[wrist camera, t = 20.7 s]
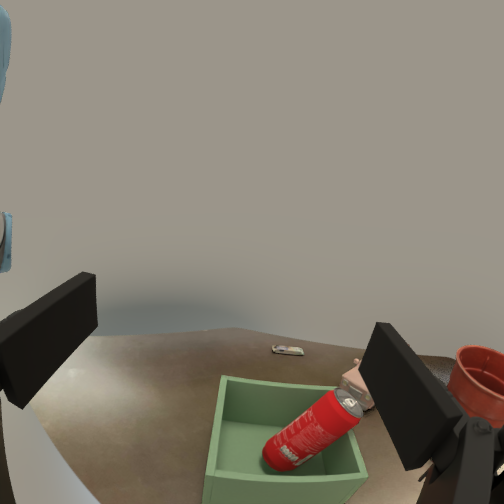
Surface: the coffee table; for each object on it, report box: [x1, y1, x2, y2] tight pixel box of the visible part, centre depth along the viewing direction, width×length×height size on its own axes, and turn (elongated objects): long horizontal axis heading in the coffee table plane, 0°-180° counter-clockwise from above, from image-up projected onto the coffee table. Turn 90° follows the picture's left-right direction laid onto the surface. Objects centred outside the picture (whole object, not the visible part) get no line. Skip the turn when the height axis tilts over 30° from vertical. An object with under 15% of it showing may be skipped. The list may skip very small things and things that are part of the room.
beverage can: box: [262, 387, 363, 472], centre depth 27 cm, size 5×5×12 cm
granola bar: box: [272, 345, 304, 355], centre depth 57 cm, size 7×2×1 cm, turn 90°
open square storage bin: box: [202, 375, 368, 504], centre depth 28 cm, size 16×16×9 cm
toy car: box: [339, 344, 410, 411], centre depth 45 cm, size 9×15×10 cm, turn 128°
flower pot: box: [447, 345, 504, 428], centre depth 28 cm, size 16×16×16 cm
